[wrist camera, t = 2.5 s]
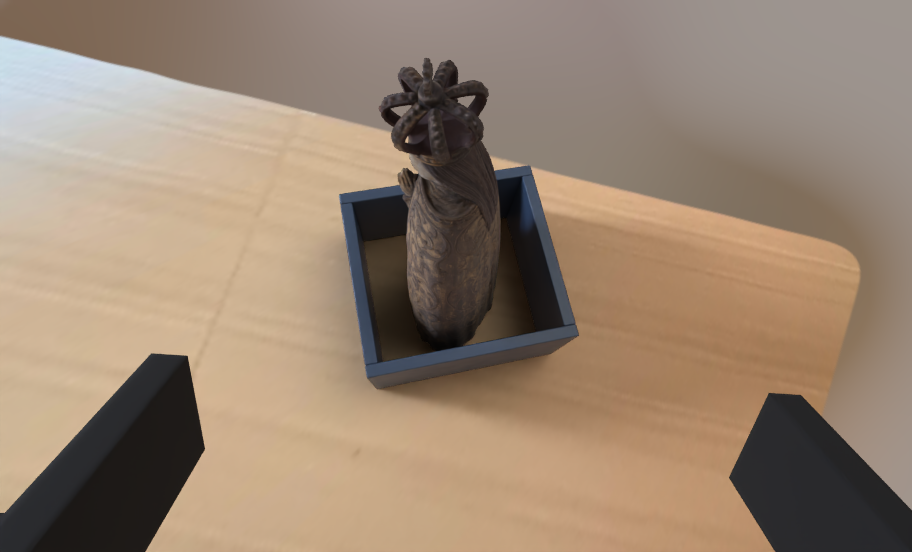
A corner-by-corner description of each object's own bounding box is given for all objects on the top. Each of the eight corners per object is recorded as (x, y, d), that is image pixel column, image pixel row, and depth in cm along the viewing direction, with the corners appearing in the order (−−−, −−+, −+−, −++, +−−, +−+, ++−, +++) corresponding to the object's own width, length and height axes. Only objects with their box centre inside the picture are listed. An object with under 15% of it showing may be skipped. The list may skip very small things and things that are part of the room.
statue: (389, 260, 40) (343, -5, 16) (477, 232, 41) (554, -52, 17) (426, 362, 37) (435, 228, 14) (517, 328, 39) (671, 152, 15)
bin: (551, 353, 38) (579, 335, 31) (376, 389, 36) (366, 378, 30) (512, 208, 42) (530, 164, 35) (352, 234, 40) (338, 193, 33)
